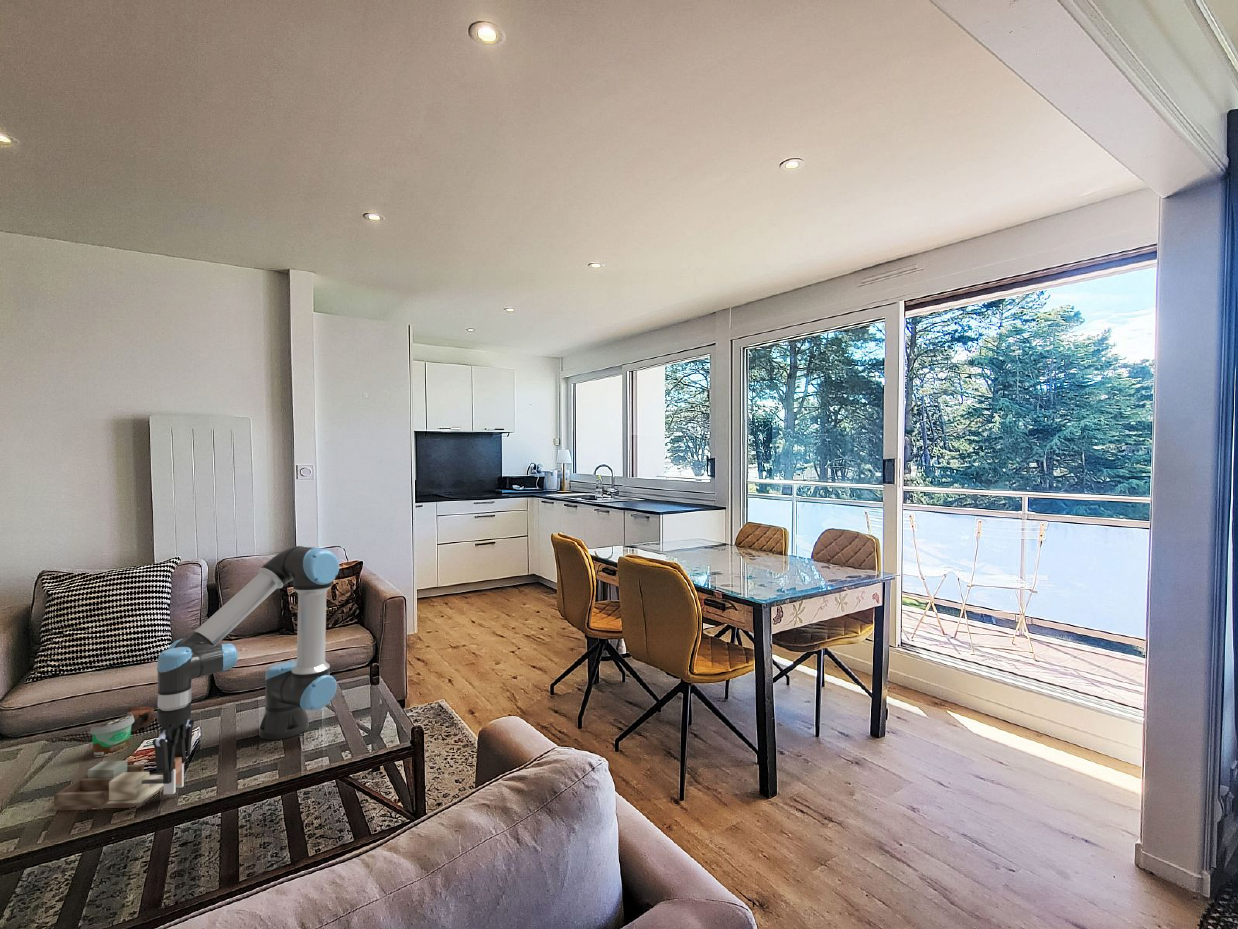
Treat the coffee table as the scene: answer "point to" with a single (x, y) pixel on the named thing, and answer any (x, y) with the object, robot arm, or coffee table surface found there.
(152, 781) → the pull block
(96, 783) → the lane rack
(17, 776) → the coffee table surface
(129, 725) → the food container
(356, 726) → the coffee table surface
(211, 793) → the coffee table surface
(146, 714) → the pottery mug
